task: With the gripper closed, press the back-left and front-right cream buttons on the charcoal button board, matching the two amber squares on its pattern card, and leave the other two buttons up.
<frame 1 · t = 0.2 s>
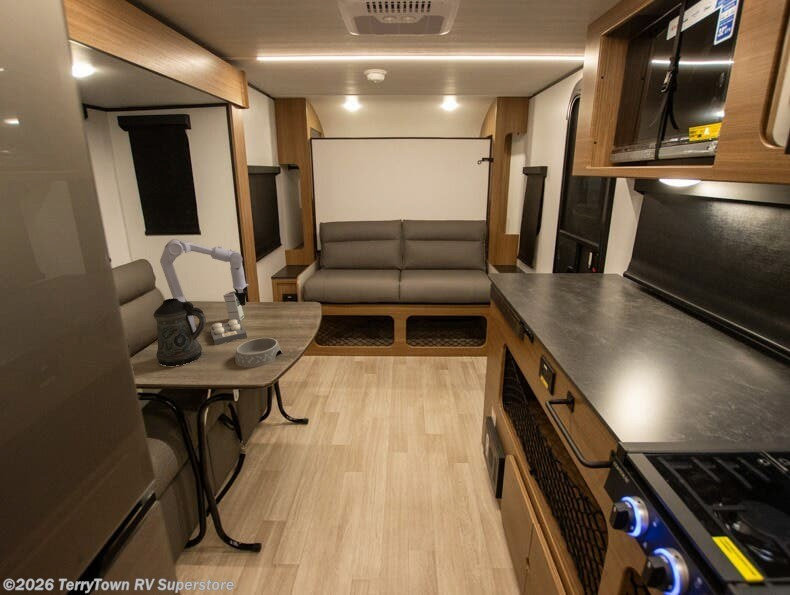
hand: (242, 303, 200), 10 cm above the table, tool pointing down, fingers open, 7 cm apart
beer stein: (185, 357, 167), on the table
syrup box: (237, 319, 207), on the table
button front right: (235, 328, 187), point 3 cm above the table, slide at 0.0 cm
dog bowl: (259, 357, 164), on the table
button front left: (219, 331, 184), point 3 cm above the table, slide at 0.0 cm
button back right: (233, 323, 193), point 3 cm above the table, slide at 0.0 cm
button back left: (217, 327, 190), point 3 cm above the table, slide at 0.0 cm
button board: (228, 334, 188), on the table
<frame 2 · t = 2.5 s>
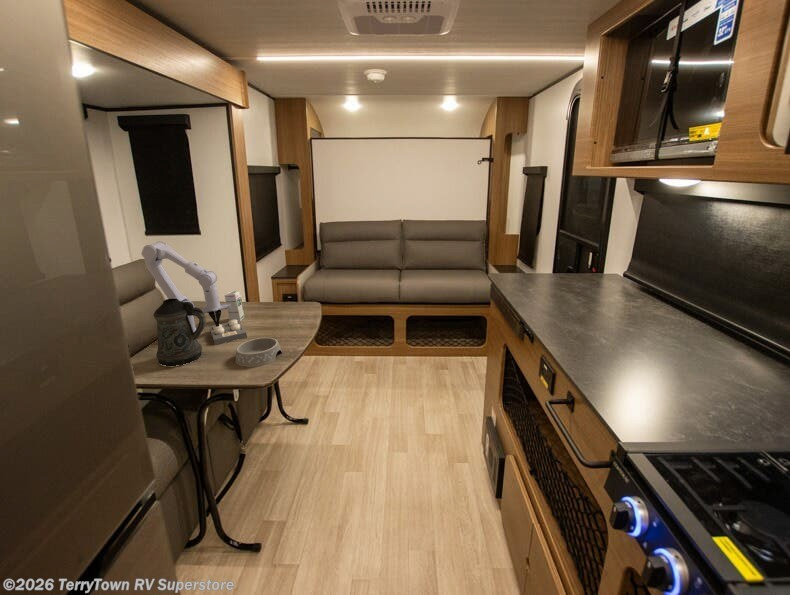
hand: (217, 326, 190), 3 cm above the table, tool pointing down, fingers closed, pressing on button back left
button back left: (217, 328, 190), point 2 cm above the table, slide at 0.8 cm, touching gripper
everything else where it was.
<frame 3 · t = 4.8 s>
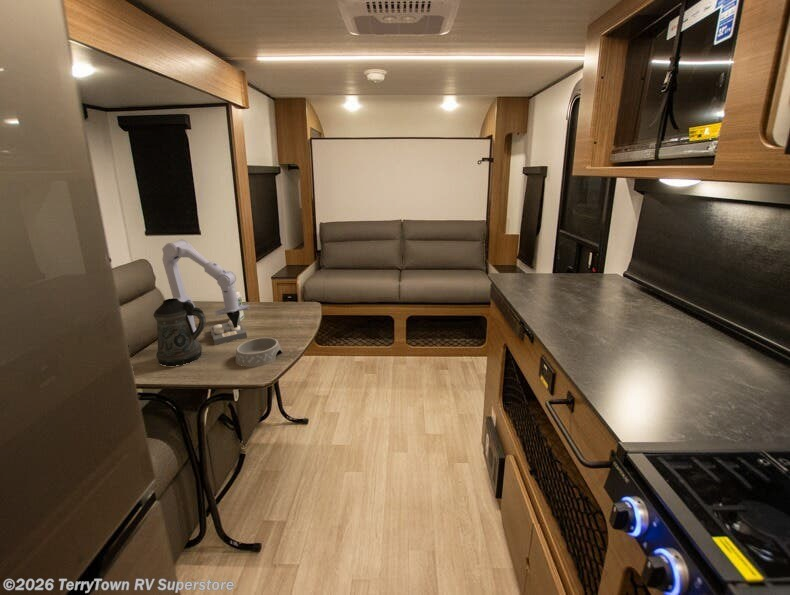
hand: (235, 327, 187), 3 cm above the table, tool pointing down, fingers closed, pressing on button front right
button front right: (236, 329, 188), point 2 cm above the table, slide at 0.8 cm, touching gripper
button back left: (217, 328, 190), point 2 cm above the table, slide at 0.8 cm
everything else where it was.
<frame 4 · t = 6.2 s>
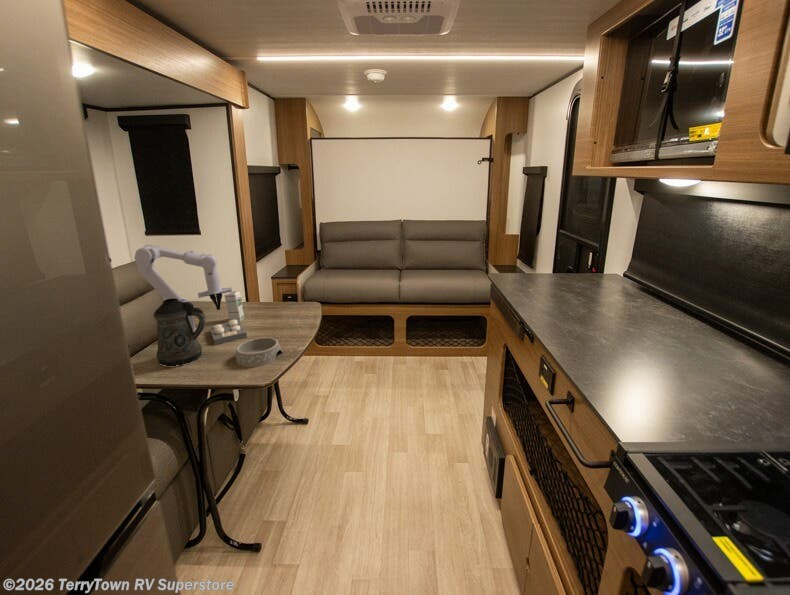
hand: (218, 309, 192), 10 cm above the table, tool pointing down, fingers closed
button front right: (236, 329, 188), point 2 cm above the table, slide at 0.8 cm
everything else where it was.
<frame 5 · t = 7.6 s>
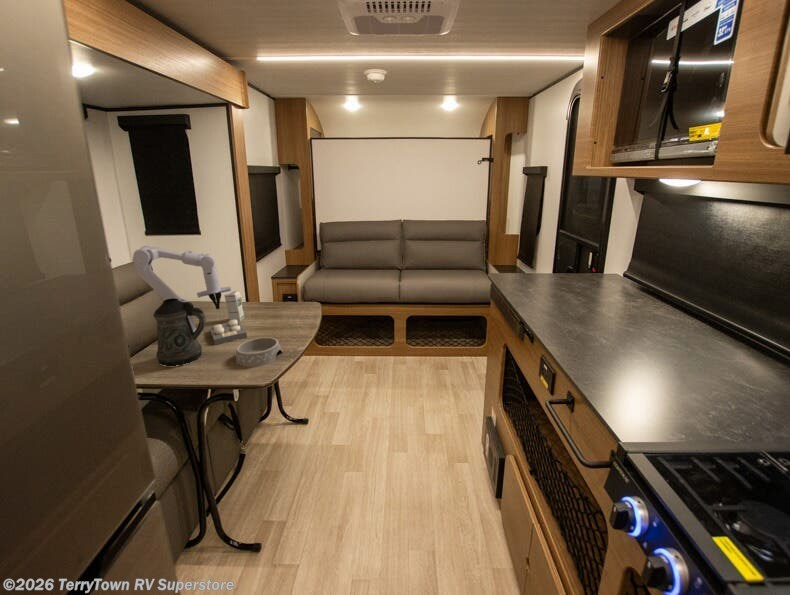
hand: (217, 308, 192), 10 cm above the table, tool pointing down, fingers closed
nothing on the table moved.
at the end: button back left slide at 0.8 cm; button front right slide at 0.8 cm; button front left slide at 0.0 cm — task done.
